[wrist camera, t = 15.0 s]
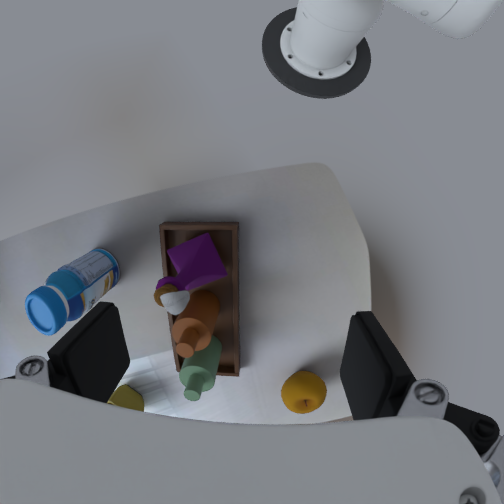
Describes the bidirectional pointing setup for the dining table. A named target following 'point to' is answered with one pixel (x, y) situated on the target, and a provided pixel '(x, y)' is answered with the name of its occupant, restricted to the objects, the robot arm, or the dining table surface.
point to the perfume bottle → (189, 272)
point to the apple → (303, 392)
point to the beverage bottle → (72, 291)
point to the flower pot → (127, 398)
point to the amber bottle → (196, 323)
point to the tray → (211, 284)
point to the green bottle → (201, 370)
